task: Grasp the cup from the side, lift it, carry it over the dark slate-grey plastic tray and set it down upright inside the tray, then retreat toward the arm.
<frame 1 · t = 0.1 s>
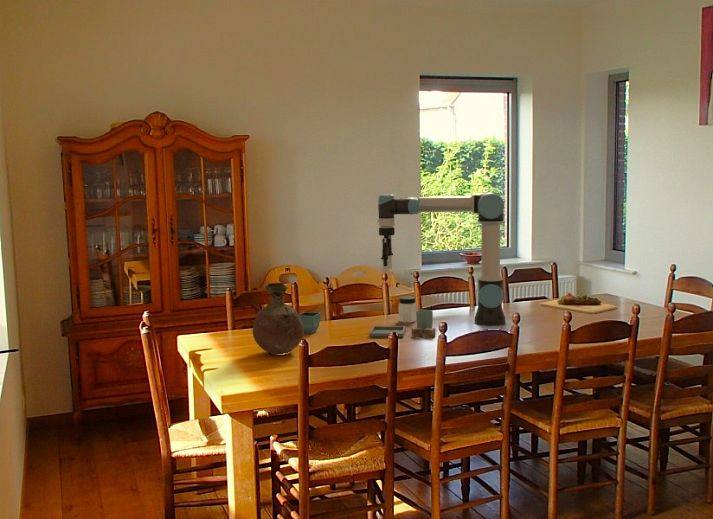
hand: (387, 270, 370), 28 cm above the table, fingers open, 13 cm apart
tray: (387, 333, 360), on the table
flower pot: (309, 332, 368), on the table
jar: (407, 321, 389), on the table
jug: (278, 353, 328), on the table
cup: (424, 332, 363), on the table
walnut block A: (417, 336, 353), on the table
walnut block B: (430, 337, 351), on the table
cutting board: (577, 308, 415), on the table
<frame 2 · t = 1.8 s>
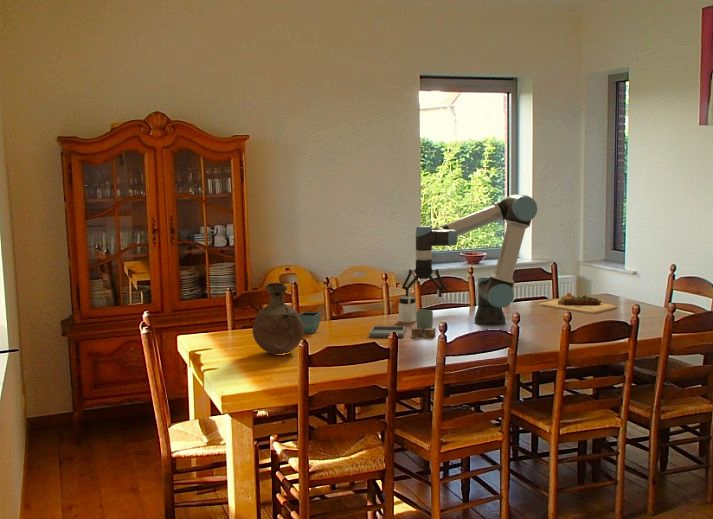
hand: (423, 303, 361), 13 cm above the table, fingers open, 13 cm apart
nothing on the table moved.
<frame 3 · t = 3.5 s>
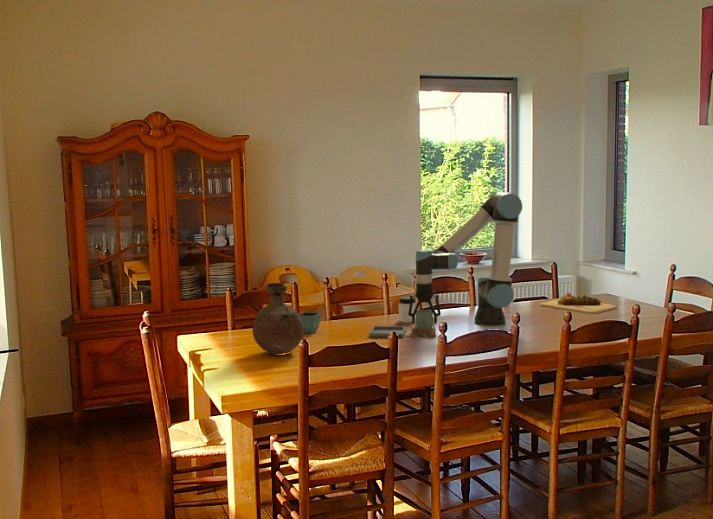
hand: (424, 330, 363), 1 cm above the table, fingers closed on cup, 8 cm apart
cup: (424, 332, 363), on the table, touching gripper
everything else where it was.
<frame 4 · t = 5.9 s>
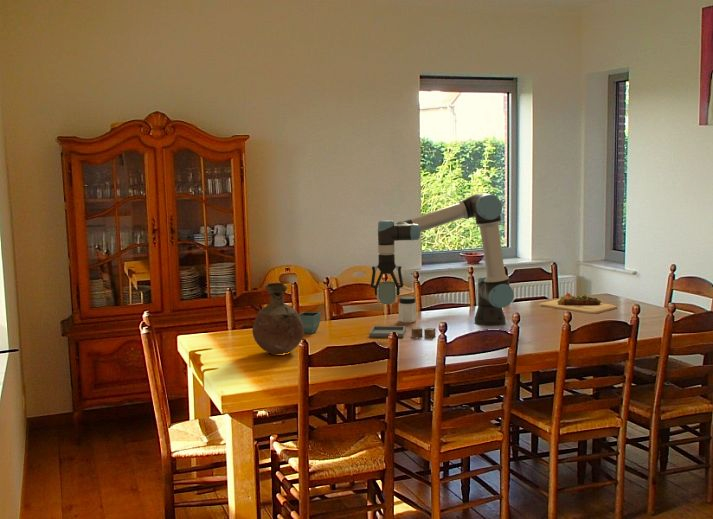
hand: (387, 302, 358), 15 cm above the table, fingers closed on cup, 8 cm apart
cup: (387, 304, 358), point 14 cm above the table, touching gripper
everything else where it was.
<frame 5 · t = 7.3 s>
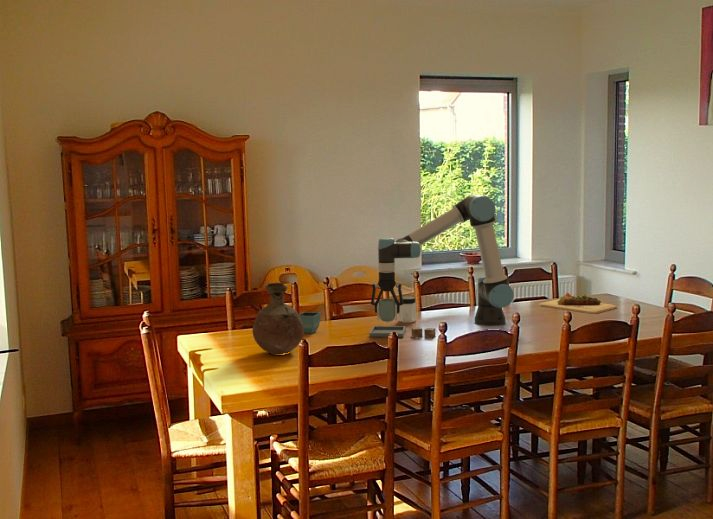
hand: (387, 319, 359), 7 cm above the table, fingers closed on cup, 8 cm apart
cup: (387, 321, 359), point 6 cm above the table, touching gripper
everything else where it was.
when the fingers open (3 cm above the table, at t = 8.5 s): cup drops 1 cm, resting on tray.
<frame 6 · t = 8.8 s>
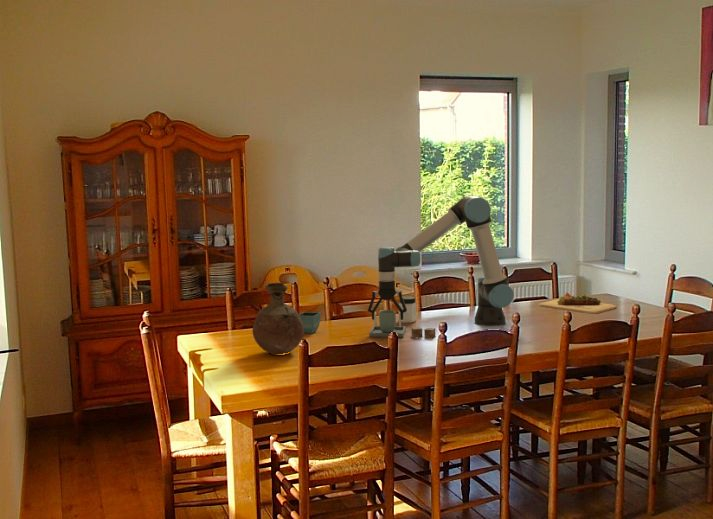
hand: (387, 326, 360), 3 cm above the table, fingers open, 11 cm apart
cup: (387, 332, 360), resting on tray
everything else where it was.
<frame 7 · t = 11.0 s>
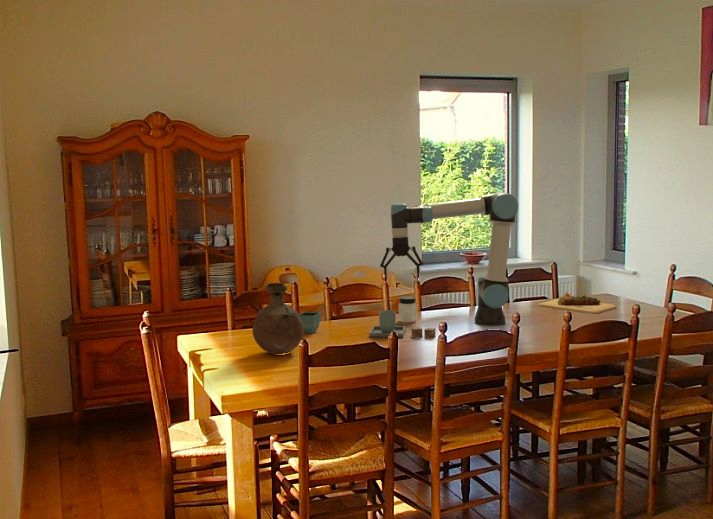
hand: (402, 281, 365), 24 cm above the table, fingers open, 13 cm apart
nothing on the table moved.
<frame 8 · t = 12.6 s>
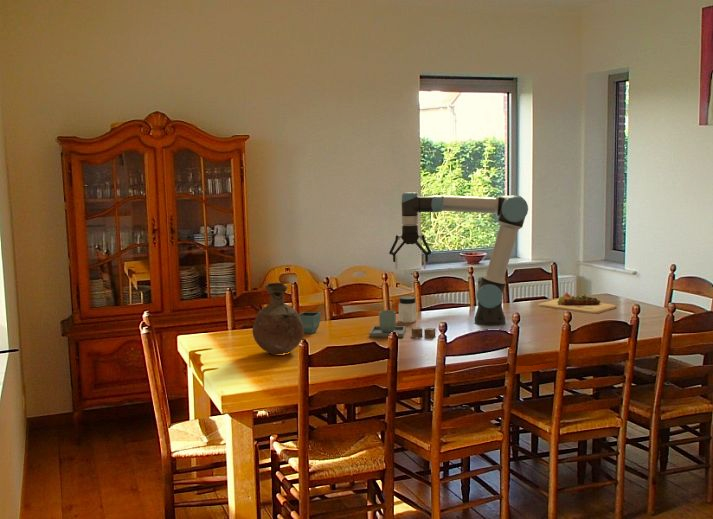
hand: (410, 268, 370), 29 cm above the table, fingers open, 13 cm apart
at the end: cup inside the target area on the tray (0.0 cm from its centre), point 0.4 cm above the tray's base; cup tilted 0°; the gripper is holding nothing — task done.
